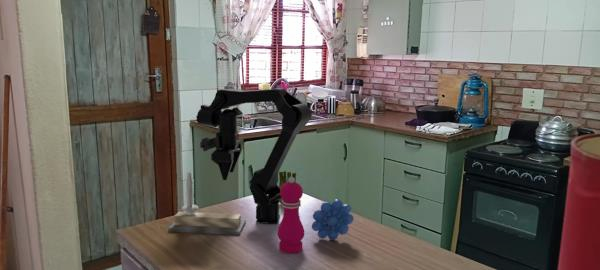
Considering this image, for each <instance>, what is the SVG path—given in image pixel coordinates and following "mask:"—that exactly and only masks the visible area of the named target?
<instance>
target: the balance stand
mask: <svg viewBox="0 0 600 270" xmlns="http://www.w3.org/2000/svg"><path fill="white" fill-rule="evenodd" d="M246 221H247V220H246V219H242V216H241V214H240V213H239V214H237V213H220V212H219V213H218V212H217V213H214V212H195V215H192V216H187V215H186V212H185V211H178V212H177V213H175V215H174V222H173V223H172V224H171V225H169V227H168V228H167V229H168V230H167V231H168V232H171V233H172V232H173V233H191V234H192V233H195V234H196V233H197V234H213V235H216V234H217V235H233V236H234V235H235V236H236V235H237V236H238V235H239V236H240V235H241V234H242V231H243V230H244V227H245V225H246V224H247V222H246Z"/></svg>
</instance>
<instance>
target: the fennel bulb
mask: <svg viewBox="0 0 600 270" xmlns="http://www.w3.org/2000/svg"><path fill="white" fill-rule="evenodd" d="M289 177H294V179H295V183H297V182H296V181H297V179H296V178H297V172H295V171H293V172H292V171H291V170H290V171H286V170H284V171H283V170H282V171H281V170H279V172H278V182H279V183H278V184H279V185H278V187H279V188H280V189H281V187H282V186H283V185H284V184H285V183H287V182H288V179H289ZM282 200H283V199H282V198H281V199H279V205H280V204H281V205H282Z"/></svg>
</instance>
